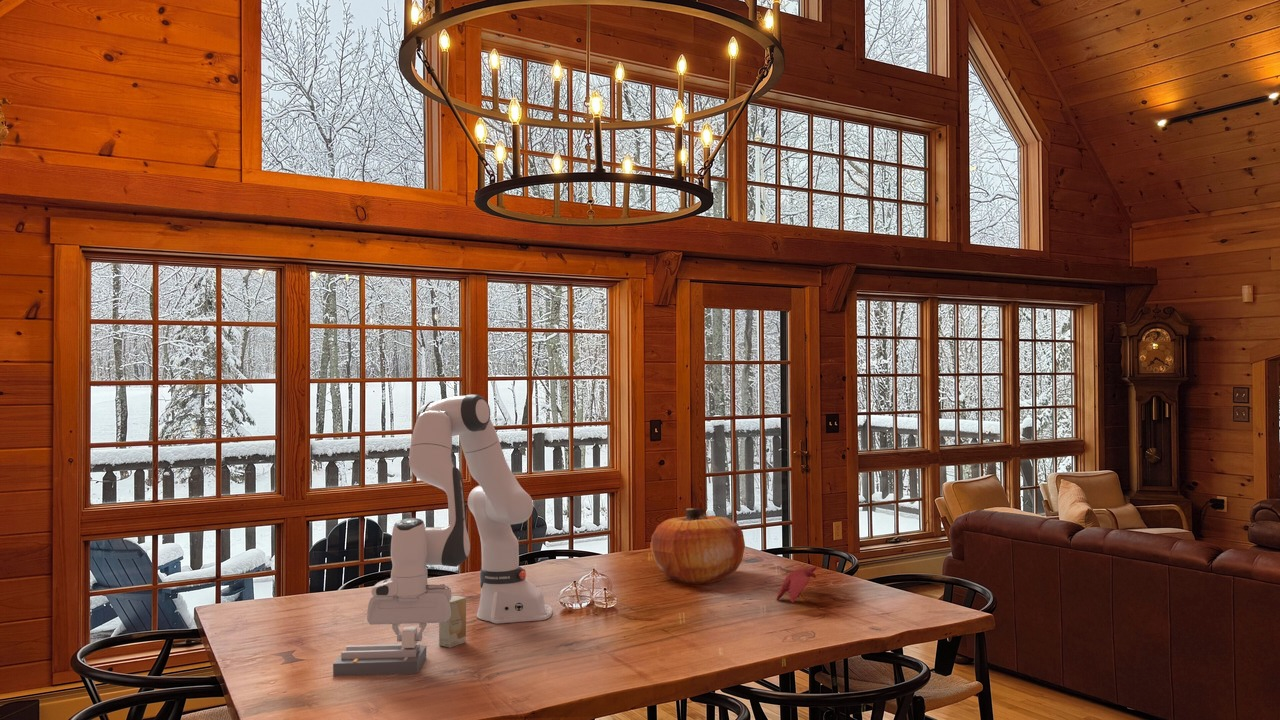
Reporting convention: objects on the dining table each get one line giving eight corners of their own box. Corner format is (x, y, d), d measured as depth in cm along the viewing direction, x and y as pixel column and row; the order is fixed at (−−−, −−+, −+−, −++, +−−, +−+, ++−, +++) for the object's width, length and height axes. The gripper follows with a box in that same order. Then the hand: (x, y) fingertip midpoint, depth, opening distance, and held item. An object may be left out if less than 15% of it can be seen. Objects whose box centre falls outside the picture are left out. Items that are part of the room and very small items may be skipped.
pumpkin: (658, 567, 324) (654, 501, 324) (747, 565, 320) (743, 498, 319) (647, 593, 292) (642, 520, 291) (746, 591, 287) (741, 517, 287)
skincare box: (450, 648, 229) (450, 602, 229) (438, 645, 231) (438, 600, 232) (467, 642, 235) (466, 596, 235) (455, 639, 237) (455, 594, 237)
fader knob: (419, 649, 218) (419, 626, 218) (416, 654, 214) (416, 631, 214) (403, 650, 218) (403, 627, 218) (399, 655, 214) (399, 631, 214)
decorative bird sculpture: (784, 627, 260) (818, 593, 257) (761, 604, 262) (795, 570, 259) (798, 603, 287) (829, 572, 283) (777, 583, 289) (808, 551, 286)
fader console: (426, 657, 222) (426, 639, 222) (417, 673, 210) (416, 654, 210) (347, 659, 221) (347, 641, 221) (333, 676, 209) (333, 657, 209)
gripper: (453, 581, 220) (453, 635, 219) (371, 583, 219) (371, 638, 218) (449, 587, 213) (449, 643, 213) (365, 589, 212) (365, 645, 212)
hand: (409, 640), depth 216 cm, fingers closed on fader knob, 3 cm apart
